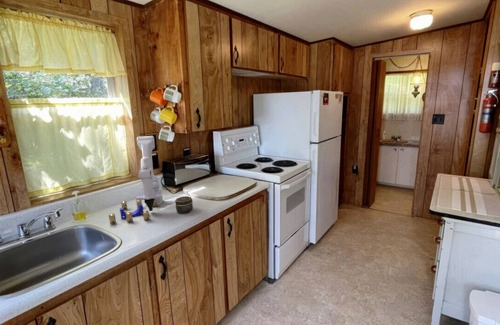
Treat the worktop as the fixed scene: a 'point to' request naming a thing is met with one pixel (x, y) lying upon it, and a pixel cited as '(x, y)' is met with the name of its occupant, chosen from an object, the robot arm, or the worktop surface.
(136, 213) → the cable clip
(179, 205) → the jar
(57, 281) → the worktop surface
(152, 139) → the robot arm
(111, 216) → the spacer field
